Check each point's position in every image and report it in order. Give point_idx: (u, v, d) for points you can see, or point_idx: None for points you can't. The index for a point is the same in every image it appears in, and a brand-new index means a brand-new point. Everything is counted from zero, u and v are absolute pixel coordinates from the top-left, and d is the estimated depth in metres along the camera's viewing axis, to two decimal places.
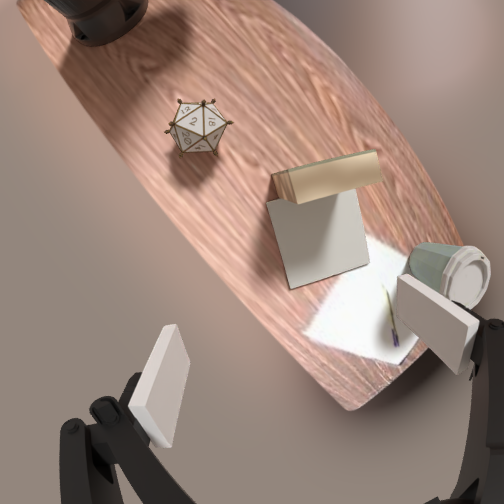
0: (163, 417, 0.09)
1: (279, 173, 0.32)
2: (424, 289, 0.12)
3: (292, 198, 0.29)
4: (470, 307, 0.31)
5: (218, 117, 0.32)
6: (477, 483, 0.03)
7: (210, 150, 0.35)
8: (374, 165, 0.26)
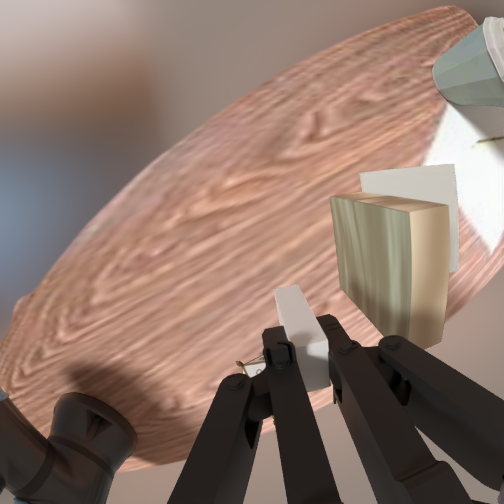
0: None
1: None
2: (298, 301, 0.15)
3: None
4: None
5: None
6: None
7: None
8: (428, 219, 0.14)
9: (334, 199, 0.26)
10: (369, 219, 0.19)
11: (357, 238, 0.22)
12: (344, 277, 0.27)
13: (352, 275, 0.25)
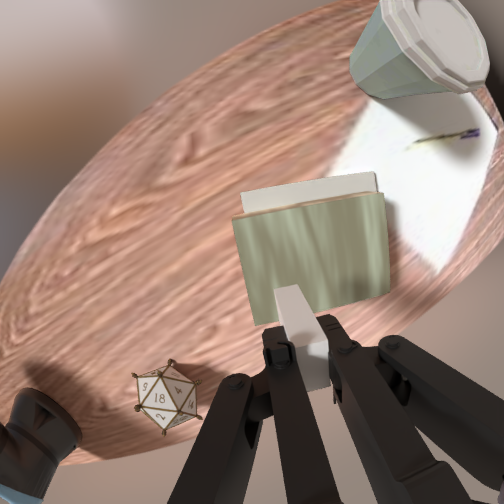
0: None
1: None
2: (298, 301, 0.15)
3: None
4: (480, 35, 0.10)
5: (154, 388, 0.25)
6: None
7: (194, 388, 0.28)
8: None
9: (250, 218, 0.23)
10: (336, 213, 0.23)
11: (309, 242, 0.24)
12: (270, 304, 0.25)
13: None
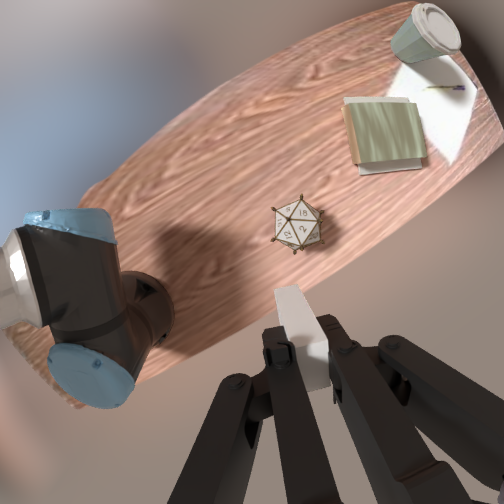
0: None
1: None
2: (298, 301, 0.15)
3: None
4: (456, 29, 0.24)
5: (298, 206, 0.39)
6: None
7: (320, 216, 0.42)
8: None
9: (357, 103, 0.37)
10: (396, 108, 0.37)
11: (385, 119, 0.38)
12: (369, 150, 0.39)
13: (380, 143, 0.39)
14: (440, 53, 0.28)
